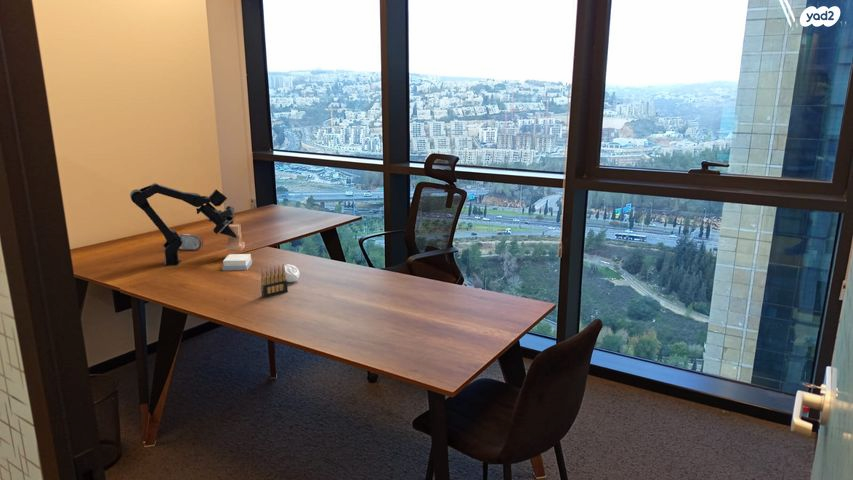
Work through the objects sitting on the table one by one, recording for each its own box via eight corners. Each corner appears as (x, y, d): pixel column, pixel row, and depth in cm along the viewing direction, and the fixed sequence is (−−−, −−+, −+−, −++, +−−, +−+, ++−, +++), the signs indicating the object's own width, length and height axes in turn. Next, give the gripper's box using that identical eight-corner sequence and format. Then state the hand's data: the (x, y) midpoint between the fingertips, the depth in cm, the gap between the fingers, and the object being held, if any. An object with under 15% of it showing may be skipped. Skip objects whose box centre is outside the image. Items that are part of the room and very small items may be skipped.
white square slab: (245, 265, 267) (245, 260, 266) (223, 265, 266) (223, 260, 266) (250, 259, 277) (250, 254, 276) (229, 259, 276) (229, 254, 275)
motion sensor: (294, 285, 247) (293, 268, 245) (278, 284, 248) (277, 266, 246) (302, 279, 254) (301, 262, 252) (286, 278, 256) (285, 261, 254)
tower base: (247, 271, 267) (246, 265, 267) (222, 271, 266) (222, 266, 266) (252, 263, 278) (251, 258, 277) (228, 264, 277) (228, 259, 276)
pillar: (241, 250, 281) (239, 226, 278) (226, 250, 281) (224, 226, 278) (244, 246, 288) (242, 223, 285) (230, 246, 288) (228, 223, 284)
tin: (204, 249, 300) (202, 233, 298) (201, 251, 297) (199, 235, 295) (176, 248, 301) (174, 232, 299) (173, 250, 298) (171, 234, 296)
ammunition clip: (285, 290, 241) (284, 263, 237) (288, 291, 239) (286, 264, 236) (261, 296, 234) (259, 268, 231) (263, 297, 233) (261, 269, 229)
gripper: (218, 206, 269) (244, 228, 273) (228, 198, 287) (252, 219, 291) (202, 222, 271) (228, 245, 274) (213, 214, 289) (238, 235, 292)
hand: (237, 235), depth 283 cm, fingers closed on pillar, 5 cm apart
